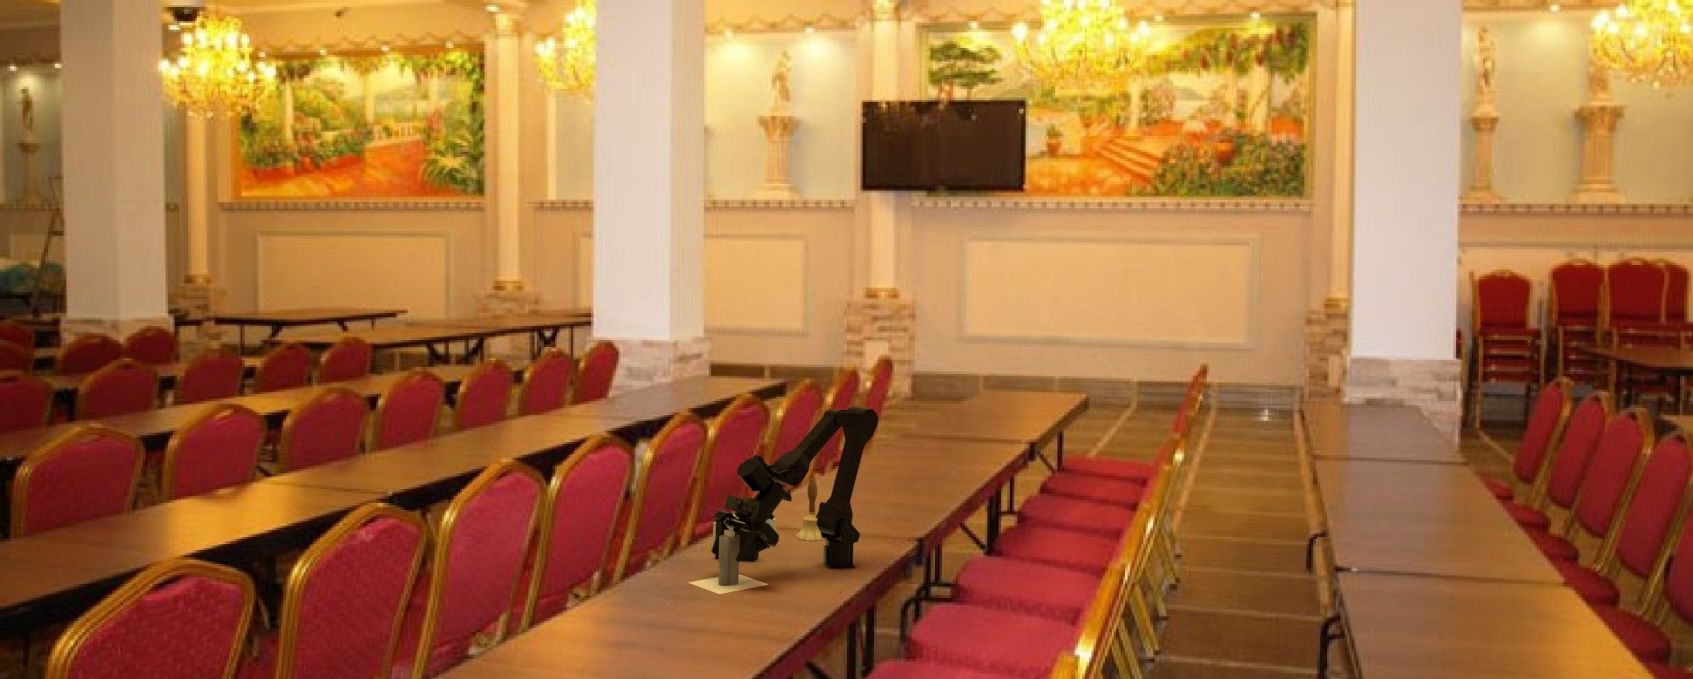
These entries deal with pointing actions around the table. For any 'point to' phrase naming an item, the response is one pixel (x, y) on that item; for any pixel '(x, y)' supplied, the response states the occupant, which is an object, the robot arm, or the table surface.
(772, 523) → the l-shaped corner panel
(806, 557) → the table surface
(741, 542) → the electronic device
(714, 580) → the mat
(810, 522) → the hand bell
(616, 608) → the table surface
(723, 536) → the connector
